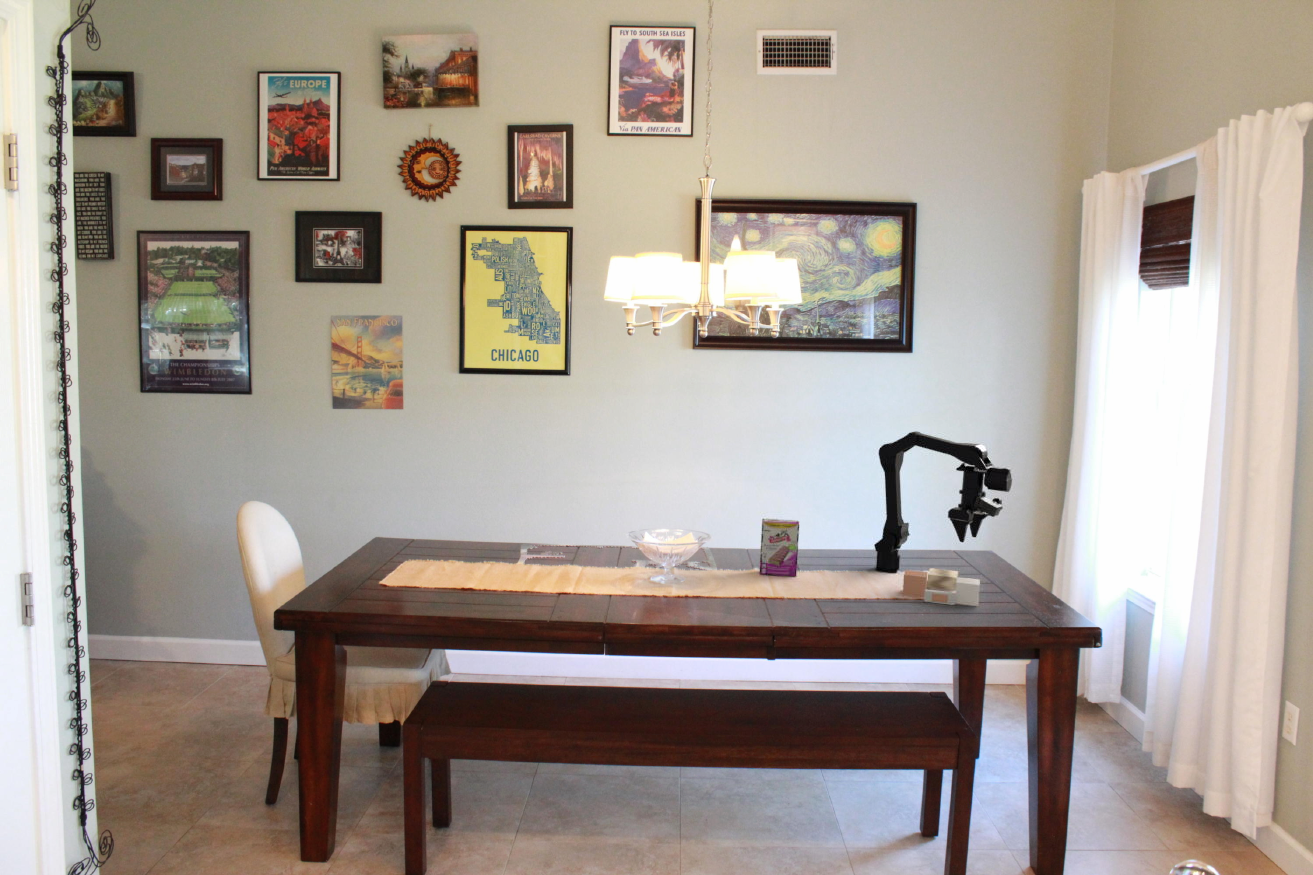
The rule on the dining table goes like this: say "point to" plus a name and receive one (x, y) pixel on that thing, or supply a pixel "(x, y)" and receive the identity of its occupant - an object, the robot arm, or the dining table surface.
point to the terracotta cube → (914, 583)
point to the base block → (942, 579)
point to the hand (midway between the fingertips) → (968, 539)
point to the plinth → (939, 597)
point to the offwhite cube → (967, 591)
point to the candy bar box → (779, 547)
